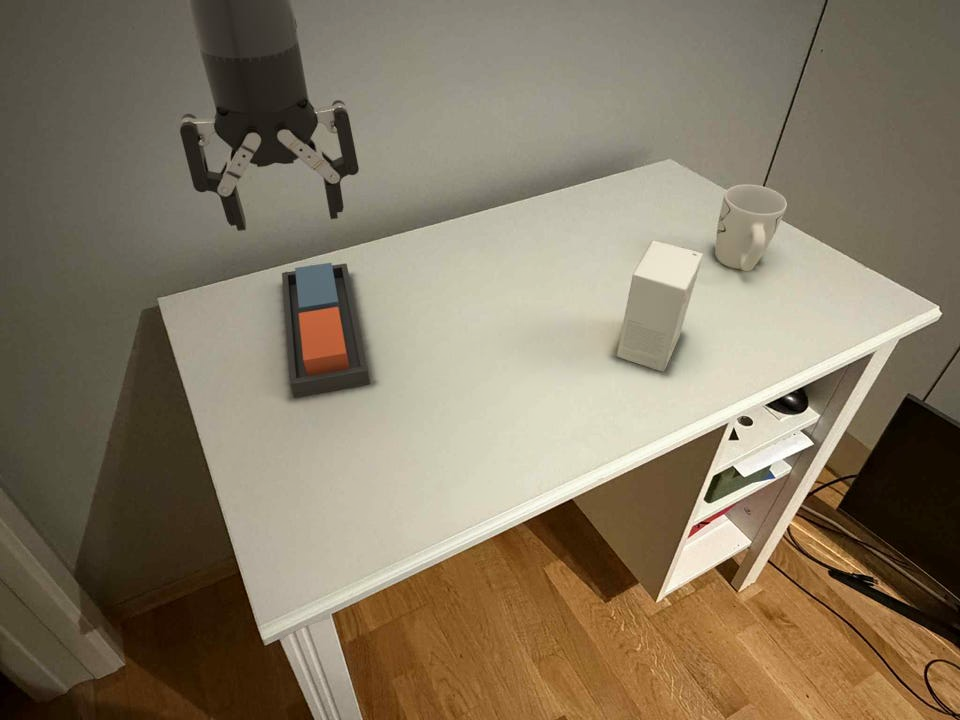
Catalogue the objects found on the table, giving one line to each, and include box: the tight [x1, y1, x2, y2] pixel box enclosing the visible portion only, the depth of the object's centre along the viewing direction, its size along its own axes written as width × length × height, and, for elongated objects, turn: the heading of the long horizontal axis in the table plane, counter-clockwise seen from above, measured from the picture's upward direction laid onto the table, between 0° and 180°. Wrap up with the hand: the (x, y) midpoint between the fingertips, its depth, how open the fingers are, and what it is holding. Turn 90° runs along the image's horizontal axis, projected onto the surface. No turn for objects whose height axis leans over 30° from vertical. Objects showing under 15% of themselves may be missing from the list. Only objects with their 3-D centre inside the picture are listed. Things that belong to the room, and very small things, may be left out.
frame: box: [281, 262, 371, 399], centre depth 84 cm, size 23×9×2 cm, turn 15°
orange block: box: [299, 307, 349, 376], centre depth 79 cm, size 9×5×4 cm, turn 15°
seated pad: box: [294, 262, 342, 322], centre depth 86 cm, size 9×5×4 cm, turn 15°
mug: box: [714, 183, 788, 272], centre depth 92 cm, size 11×8×10 cm
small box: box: [616, 240, 704, 372], centre depth 78 cm, size 8×6×13 cm
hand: (288, 220), depth 61 cm, fingers open, 8 cm apart
